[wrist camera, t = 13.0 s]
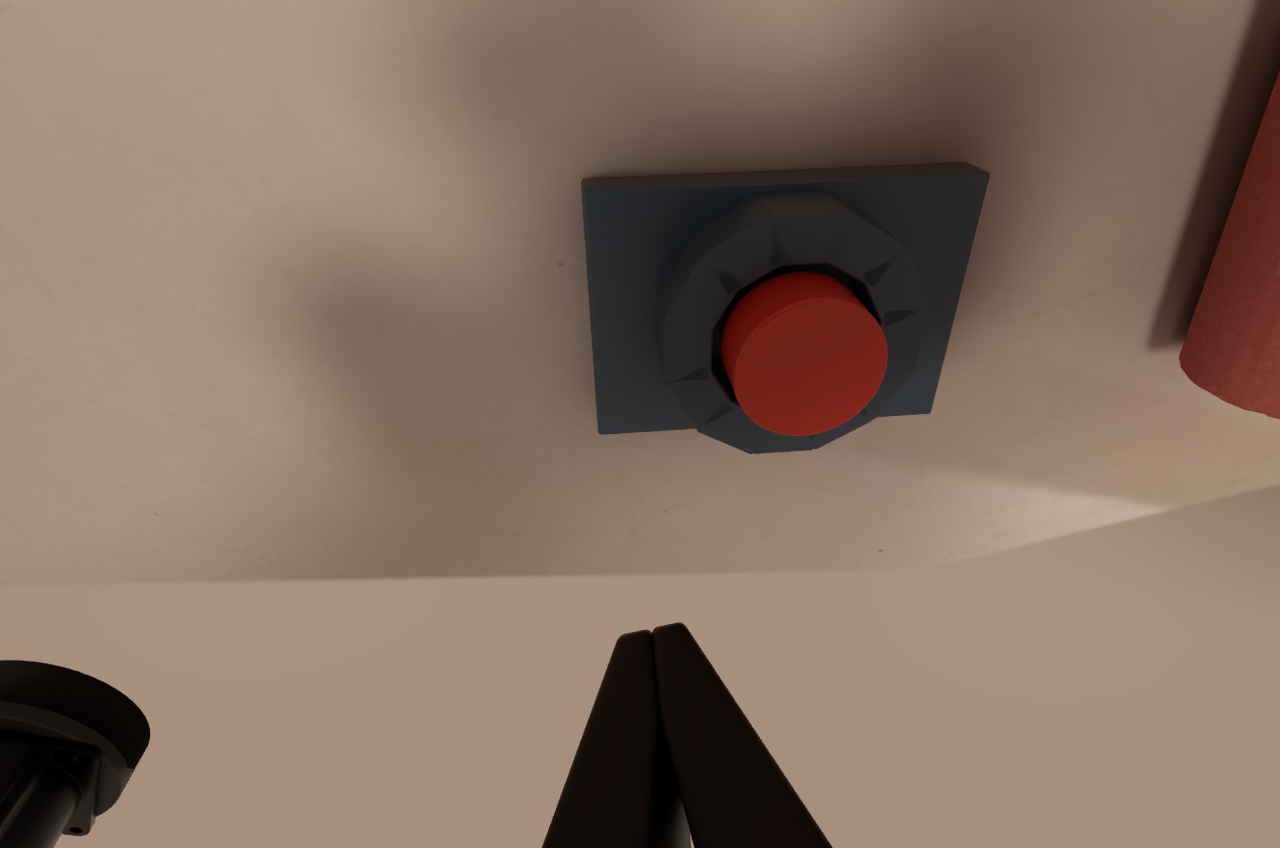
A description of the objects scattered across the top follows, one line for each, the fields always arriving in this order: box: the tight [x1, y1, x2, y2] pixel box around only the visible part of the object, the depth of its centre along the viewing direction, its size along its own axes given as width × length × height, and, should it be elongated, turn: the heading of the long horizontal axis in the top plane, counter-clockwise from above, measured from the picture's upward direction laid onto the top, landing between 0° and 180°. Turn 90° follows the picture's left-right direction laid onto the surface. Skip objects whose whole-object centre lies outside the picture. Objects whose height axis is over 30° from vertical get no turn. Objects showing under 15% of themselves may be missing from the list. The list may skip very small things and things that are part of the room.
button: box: [721, 271, 888, 436], centre depth 16 cm, size 4×4×2 cm
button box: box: [582, 162, 990, 454], centre depth 18 cm, size 10×7×3 cm
